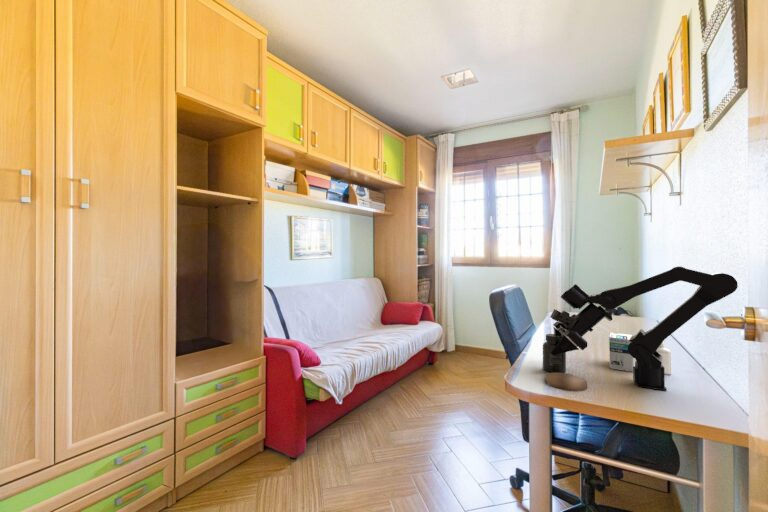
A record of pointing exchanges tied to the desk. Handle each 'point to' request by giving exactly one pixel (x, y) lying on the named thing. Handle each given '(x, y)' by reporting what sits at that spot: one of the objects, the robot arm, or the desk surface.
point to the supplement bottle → (553, 361)
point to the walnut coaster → (566, 381)
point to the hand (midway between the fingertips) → (549, 351)
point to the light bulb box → (620, 352)
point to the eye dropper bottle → (665, 358)
